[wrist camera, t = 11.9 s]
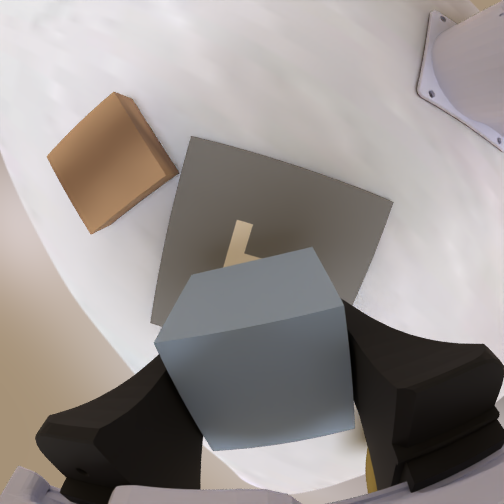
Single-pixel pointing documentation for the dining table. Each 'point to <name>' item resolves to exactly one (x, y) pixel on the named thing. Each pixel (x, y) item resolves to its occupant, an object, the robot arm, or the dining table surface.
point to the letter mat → (263, 220)
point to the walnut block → (110, 162)
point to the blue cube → (261, 352)
